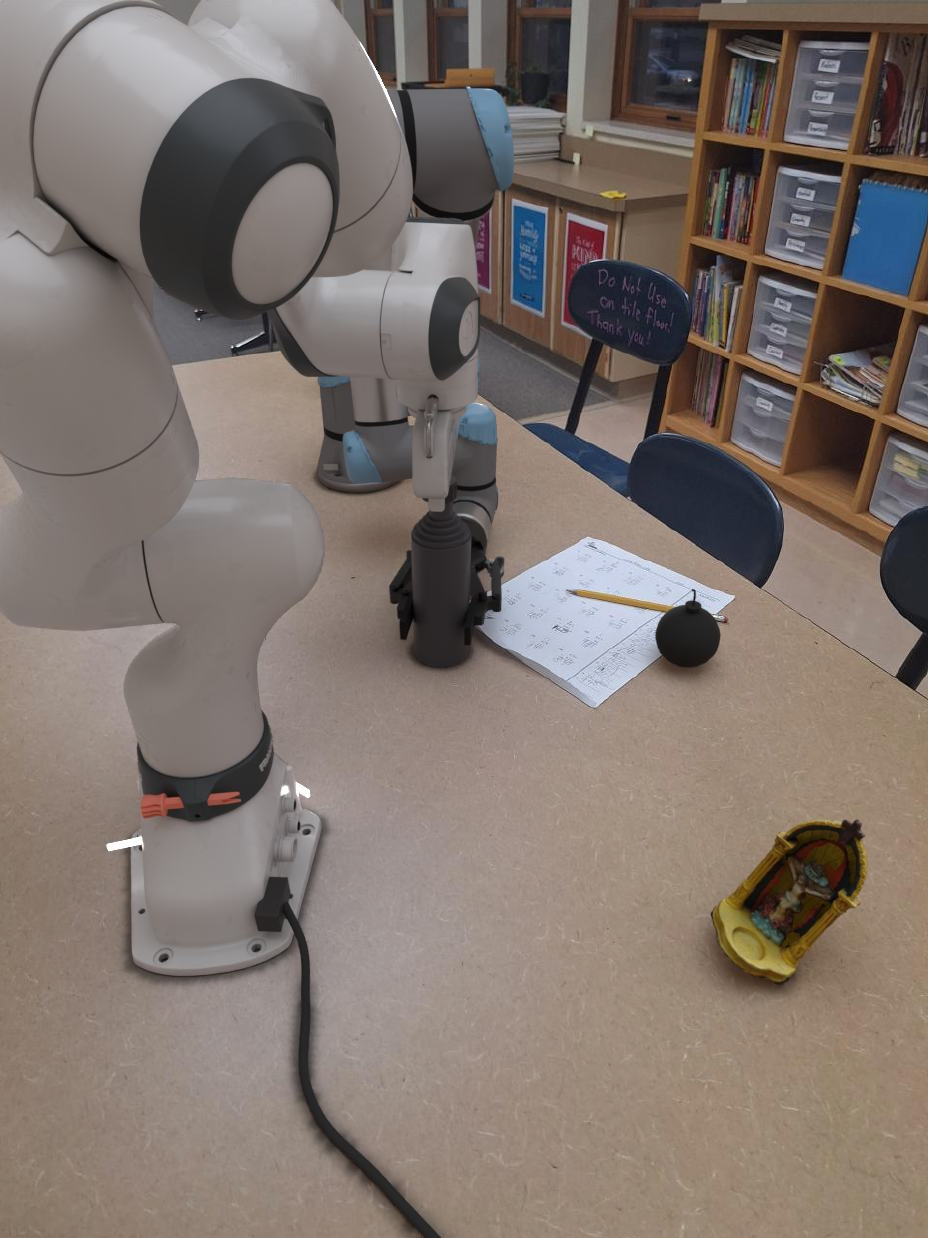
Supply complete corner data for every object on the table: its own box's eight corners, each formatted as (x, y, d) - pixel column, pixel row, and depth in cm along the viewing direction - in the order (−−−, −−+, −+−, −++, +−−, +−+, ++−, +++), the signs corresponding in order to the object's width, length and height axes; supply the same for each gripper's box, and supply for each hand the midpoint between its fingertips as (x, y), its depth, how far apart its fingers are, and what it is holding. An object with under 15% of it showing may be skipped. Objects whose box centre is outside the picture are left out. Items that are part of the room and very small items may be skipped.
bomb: (664, 635, 115) (676, 558, 108) (722, 654, 111) (739, 576, 104) (642, 667, 109) (654, 588, 102) (703, 688, 106) (720, 608, 99)
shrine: (791, 892, 81) (830, 781, 73) (851, 966, 75) (901, 853, 66) (686, 929, 78) (714, 817, 69) (739, 1009, 72) (776, 896, 63)
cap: (459, 489, 100) (459, 472, 99) (453, 505, 97) (453, 488, 96) (424, 487, 101) (424, 470, 100) (418, 502, 98) (417, 485, 96)
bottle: (470, 667, 110) (474, 507, 96) (414, 668, 109) (409, 507, 96) (467, 633, 115) (470, 477, 102) (414, 634, 115) (409, 478, 101)
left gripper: (460, 418, 83) (460, 543, 90) (471, 350, 99) (471, 461, 107) (394, 417, 83) (401, 542, 91) (416, 350, 100) (420, 460, 108)
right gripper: (531, 566, 124) (516, 665, 106) (394, 556, 126) (356, 651, 108) (533, 520, 120) (518, 615, 101) (391, 511, 122) (351, 601, 104)
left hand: (439, 497), depth 99 cm, fingers closed on cap, 4 cm apart
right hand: (434, 633), depth 105 cm, fingers closed on bottle, 7 cm apart
